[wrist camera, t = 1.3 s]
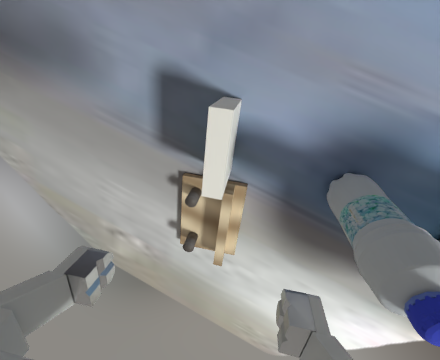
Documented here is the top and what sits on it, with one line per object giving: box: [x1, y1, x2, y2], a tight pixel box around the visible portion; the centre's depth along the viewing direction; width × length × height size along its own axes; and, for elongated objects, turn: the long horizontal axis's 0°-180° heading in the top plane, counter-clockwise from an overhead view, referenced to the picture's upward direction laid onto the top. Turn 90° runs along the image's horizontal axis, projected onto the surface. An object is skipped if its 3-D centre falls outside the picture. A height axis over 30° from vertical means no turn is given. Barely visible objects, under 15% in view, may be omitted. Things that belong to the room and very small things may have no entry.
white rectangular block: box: [201, 97, 242, 200], centre depth 27 cm, size 10×2×9 cm, turn 174°
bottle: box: [327, 173, 440, 346], centre depth 23 cm, size 7×7×20 cm
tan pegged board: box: [180, 173, 248, 266], centre depth 36 cm, size 14×10×4 cm
